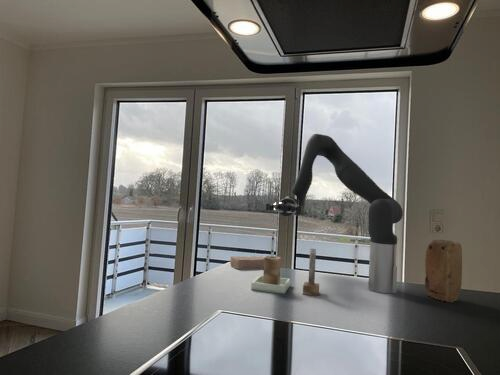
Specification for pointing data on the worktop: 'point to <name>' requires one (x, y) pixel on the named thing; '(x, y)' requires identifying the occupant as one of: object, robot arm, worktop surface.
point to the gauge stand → (311, 277)
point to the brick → (247, 262)
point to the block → (443, 270)
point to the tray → (270, 285)
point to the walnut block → (272, 270)
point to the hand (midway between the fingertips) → (281, 208)
